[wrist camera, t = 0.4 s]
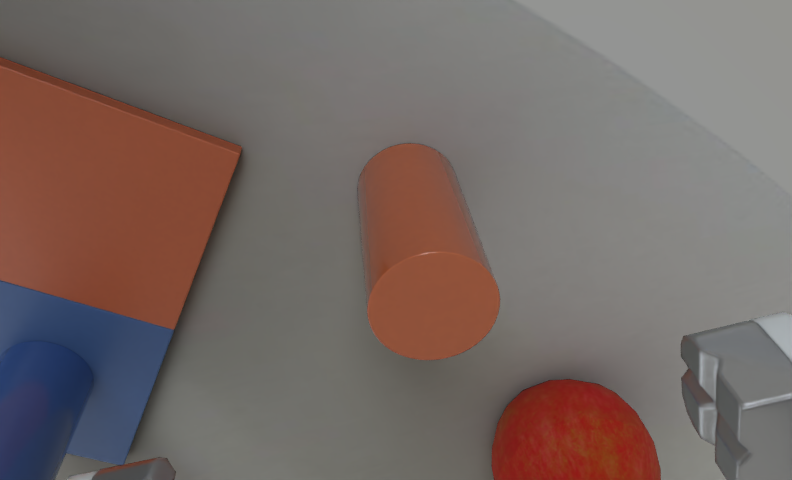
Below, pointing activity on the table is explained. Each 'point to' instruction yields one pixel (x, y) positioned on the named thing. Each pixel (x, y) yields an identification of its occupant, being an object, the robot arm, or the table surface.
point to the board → (101, 237)
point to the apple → (572, 436)
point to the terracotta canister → (422, 256)
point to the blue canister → (39, 407)
